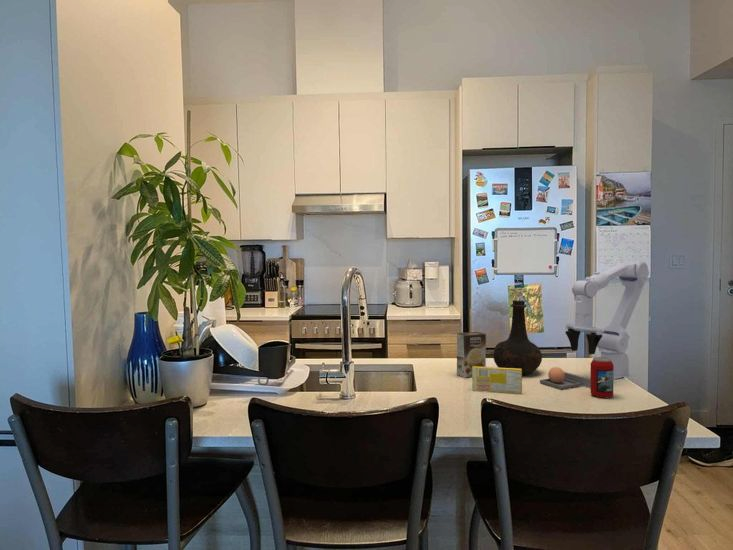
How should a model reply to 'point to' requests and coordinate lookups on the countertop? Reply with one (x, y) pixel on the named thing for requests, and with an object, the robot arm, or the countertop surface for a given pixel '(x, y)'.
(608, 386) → the beverage can
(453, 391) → the countertop surface
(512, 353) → the glass bottle
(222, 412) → the countertop surface
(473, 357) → the coffee box
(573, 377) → the low fence
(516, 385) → the candy box
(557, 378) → the ball
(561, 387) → the charcoal dish
